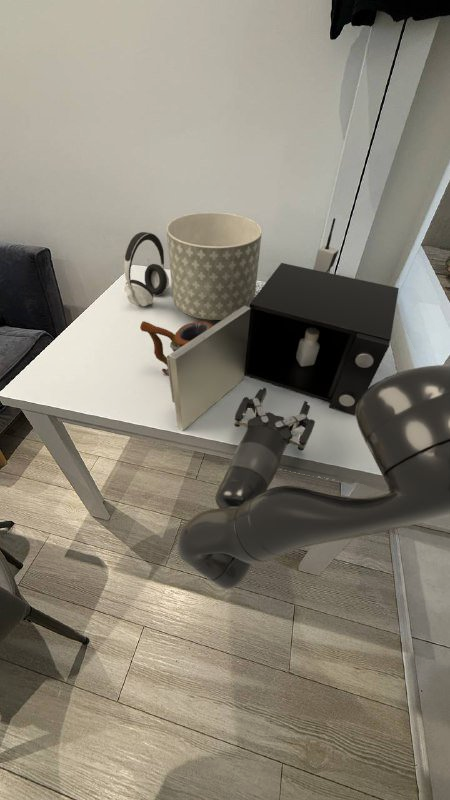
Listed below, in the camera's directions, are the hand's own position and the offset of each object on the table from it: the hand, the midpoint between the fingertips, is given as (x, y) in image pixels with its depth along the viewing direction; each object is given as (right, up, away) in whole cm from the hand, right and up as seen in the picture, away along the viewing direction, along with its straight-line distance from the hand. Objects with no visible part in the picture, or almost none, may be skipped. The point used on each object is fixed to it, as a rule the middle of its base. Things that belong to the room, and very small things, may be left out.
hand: (284, 397), depth 66 cm
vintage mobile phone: (+18, +32, +43) cm, 57 cm away
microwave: (+9, +8, +19) cm, 22 cm away
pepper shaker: (+9, +9, +19) cm, 23 cm away
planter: (-16, +28, +37) cm, 49 cm away
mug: (-22, +5, +15) cm, 27 cm away
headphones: (-36, +32, +40) cm, 63 cm away
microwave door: (-16, 0, +10) cm, 19 cm away
